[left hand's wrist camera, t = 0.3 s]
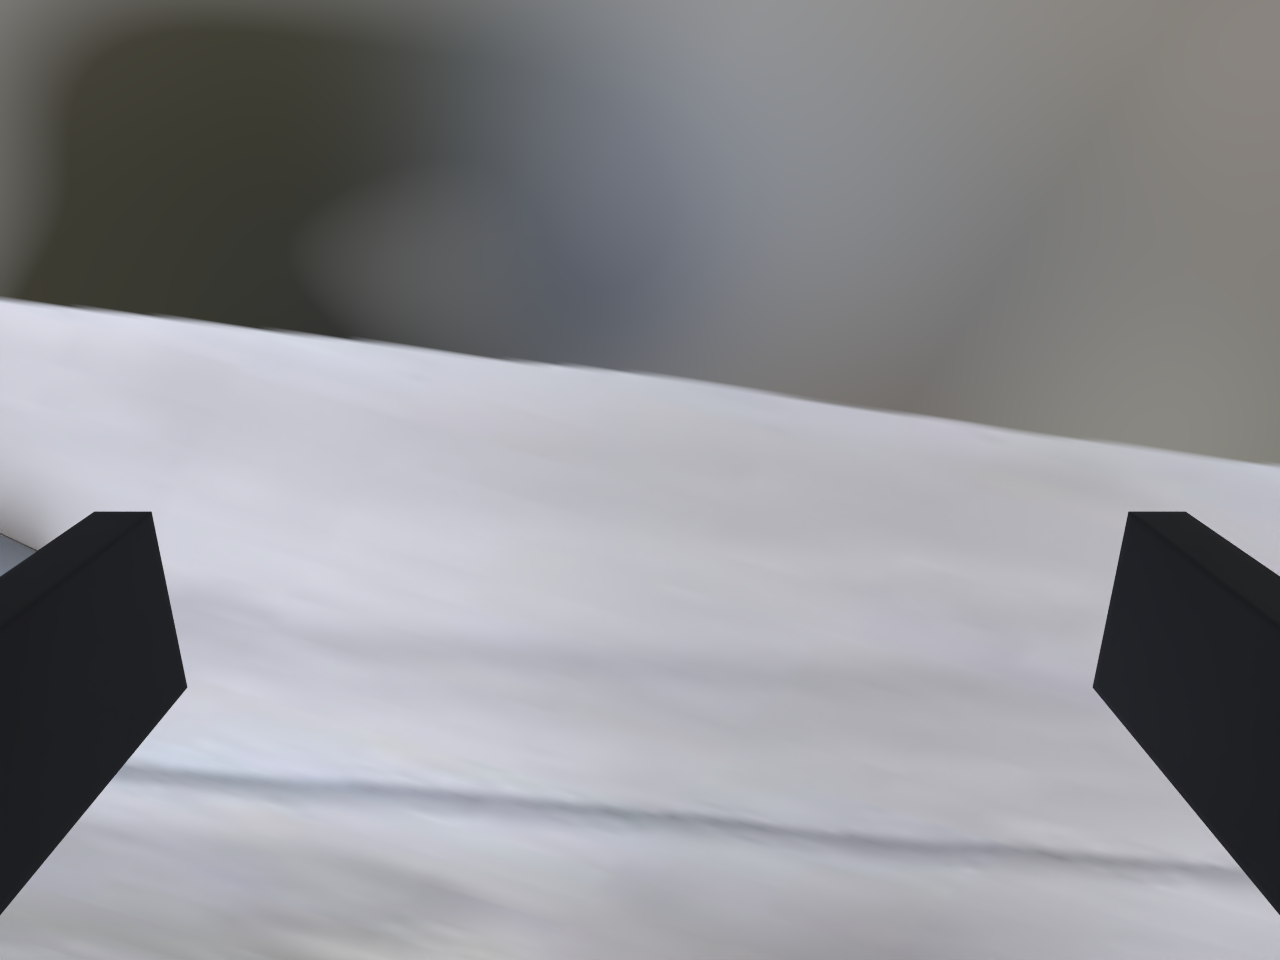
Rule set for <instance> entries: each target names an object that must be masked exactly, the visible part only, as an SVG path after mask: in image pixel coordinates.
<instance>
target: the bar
mask: <svg viewBox="0 0 1280 960" xmlns="http://www.w3.org/2000/svg"><path fill="white" fill-rule="evenodd" d="M35 552H37V551H35V550H33V549H31V548H29V547H27V546H25V545H22V544H20V543H18V542H16V541H14V540H12V539H10V538H8V537H6V536H3V535H1V534H0V576H2V575H3V574H5V573H6V572H8V571H9V570H10V569H12V568H13V567H15V566H16V565H18V564H19V563H21V562H22V561H24V560H25V559H26V558H28V557H29V556H31V555H32V554H34V553H35Z"/></svg>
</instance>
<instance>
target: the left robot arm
mask: <svg viewBox="0 0 1280 960" xmlns="http://www.w3.org/2000/svg"><path fill="white" fill-rule="evenodd" d="M186 688H187V684H186V679H185V674H184V669H183V664H182V659H181V654H180V649H179V644H178V639H177V635H176V630H175V625H174V620H173V615H172V610H171V605H170V600H169V595H168V590H167V586H166V581H165V576H164V571H163V566H162V561H161V556H160V551H159V546H158V541H157V537H156V532H155V527H154V522H153V517H152V512H93V513H92V514H90V515H89V516H87V517H86V518H85V519H83V520H82V521H80V522H79V523H77V524H76V525H74V526H73V527H71V528H70V529H69V530H67V531H66V532H64V533H63V534H61V535H60V536H58V537H57V538H55V539H54V540H53V541H51V542H50V543H48V544H47V545H45V546H44V547H42V548H41V549H39V550H38V551H37V552H35V553H34V554H32V555H31V556H29V557H28V558H26V559H25V560H24V561H22V562H21V563H19V564H18V565H16V566H15V567H13V568H12V569H10V570H9V571H8V572H6V573H5V574H3V575H2V576H0V915H1V913H2V912H3V911H4V910H5V909H6V907H7V906H8V905H9V904H10V903H11V901H12V900H13V899H14V898H15V896H16V895H17V894H18V893H19V892H20V890H21V889H22V888H23V887H24V885H25V884H26V883H27V882H28V881H29V879H30V878H31V877H32V876H33V875H34V873H35V872H36V871H37V870H38V868H39V867H40V866H41V865H42V864H43V862H44V861H45V860H46V859H47V858H48V856H49V855H50V854H51V853H52V851H53V850H54V849H55V848H56V847H57V845H58V844H59V843H60V842H61V840H62V839H63V838H64V837H65V836H66V834H67V833H68V832H69V831H70V830H71V828H72V827H73V826H74V825H75V823H76V822H77V821H78V820H79V819H80V817H81V816H82V815H83V814H84V812H85V811H86V810H87V809H88V808H89V806H90V805H91V804H92V803H93V802H94V800H95V799H96V798H97V797H98V795H99V794H100V793H101V792H102V791H103V789H104V788H105V787H106V786H107V784H108V783H109V782H110V781H111V780H112V778H113V777H114V776H115V775H116V774H117V772H118V771H119V770H120V769H121V767H122V766H123V765H124V764H125V763H126V761H127V760H128V759H129V758H130V756H131V755H132V754H133V753H134V752H135V750H136V749H137V748H138V747H139V746H140V744H141V743H142V742H143V741H144V739H145V738H146V737H147V736H148V735H149V733H150V732H151V731H152V730H153V729H154V727H155V726H156V725H157V724H158V722H159V721H160V720H161V719H162V718H163V716H164V715H165V714H166V713H167V711H168V710H169V709H170V708H171V707H172V705H173V704H174V703H175V702H176V701H177V699H178V698H179V697H180V696H181V694H182V693H183V692H184V691H185V690H186ZM1093 688H1094V690H1095V691H1096V692H1097V693H1098V694H1099V696H1100V697H1101V698H1102V699H1103V701H1104V702H1105V703H1106V704H1107V705H1108V707H1109V708H1110V709H1111V710H1112V711H1113V713H1114V714H1115V715H1116V716H1117V718H1118V719H1119V720H1120V721H1121V722H1122V724H1123V725H1124V726H1125V727H1126V729H1127V730H1128V731H1129V732H1130V733H1131V735H1132V736H1133V737H1134V738H1135V739H1136V741H1137V742H1138V743H1139V744H1140V746H1141V747H1142V748H1143V749H1144V750H1145V752H1146V753H1147V754H1148V755H1149V757H1150V758H1151V759H1152V760H1153V761H1154V763H1155V764H1156V765H1157V766H1158V767H1159V769H1160V770H1161V771H1162V772H1163V774H1164V775H1165V776H1166V777H1167V778H1168V780H1169V781H1170V782H1171V783H1172V784H1173V786H1174V787H1175V788H1176V789H1177V791H1178V792H1179V793H1180V794H1181V795H1182V797H1183V798H1184V799H1185V800H1186V802H1187V803H1188V804H1189V805H1190V806H1191V808H1192V809H1193V810H1194V811H1195V812H1196V814H1197V815H1198V816H1199V817H1200V819H1201V820H1202V821H1203V822H1204V823H1205V825H1206V826H1207V827H1208V828H1209V830H1210V831H1211V832H1212V833H1213V834H1214V836H1215V837H1216V838H1217V839H1218V840H1219V842H1220V843H1221V844H1222V845H1223V847H1224V848H1225V849H1226V850H1227V851H1228V853H1229V854H1230V855H1231V856H1232V858H1233V859H1234V860H1235V861H1236V862H1237V864H1238V865H1239V866H1240V867H1241V868H1242V870H1243V871H1244V872H1245V873H1246V875H1247V876H1248V877H1249V878H1250V879H1251V881H1252V882H1253V883H1254V884H1255V885H1256V887H1257V888H1258V889H1259V890H1260V892H1261V893H1262V894H1263V895H1264V896H1265V898H1266V899H1267V900H1268V901H1269V903H1270V904H1271V905H1272V906H1273V907H1274V909H1275V910H1276V911H1277V912H1278V913H1279V915H1280V576H1278V575H1277V574H1275V573H1274V572H1272V571H1271V570H1270V569H1268V568H1267V567H1265V566H1264V565H1262V564H1261V563H1259V562H1258V561H1256V560H1255V559H1254V558H1252V557H1251V556H1249V555H1248V554H1246V553H1245V552H1243V551H1242V550H1240V549H1239V548H1238V547H1236V546H1235V545H1233V544H1232V543H1230V542H1229V541H1227V540H1226V539H1225V538H1223V537H1222V536H1220V535H1219V534H1217V533H1216V532H1214V531H1213V530H1211V529H1210V528H1209V527H1207V526H1206V525H1204V524H1203V523H1201V522H1200V521H1198V520H1197V519H1195V518H1194V517H1193V516H1191V515H1190V514H1188V513H1187V512H1128V517H1127V522H1126V527H1125V532H1124V536H1123V541H1122V546H1121V551H1120V556H1119V561H1118V566H1117V571H1116V576H1115V581H1114V586H1113V590H1112V595H1111V600H1110V605H1109V610H1108V615H1107V620H1106V625H1105V630H1104V635H1103V639H1102V644H1101V649H1100V654H1099V659H1098V664H1097V669H1096V674H1095V679H1094V684H1093Z"/></svg>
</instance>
